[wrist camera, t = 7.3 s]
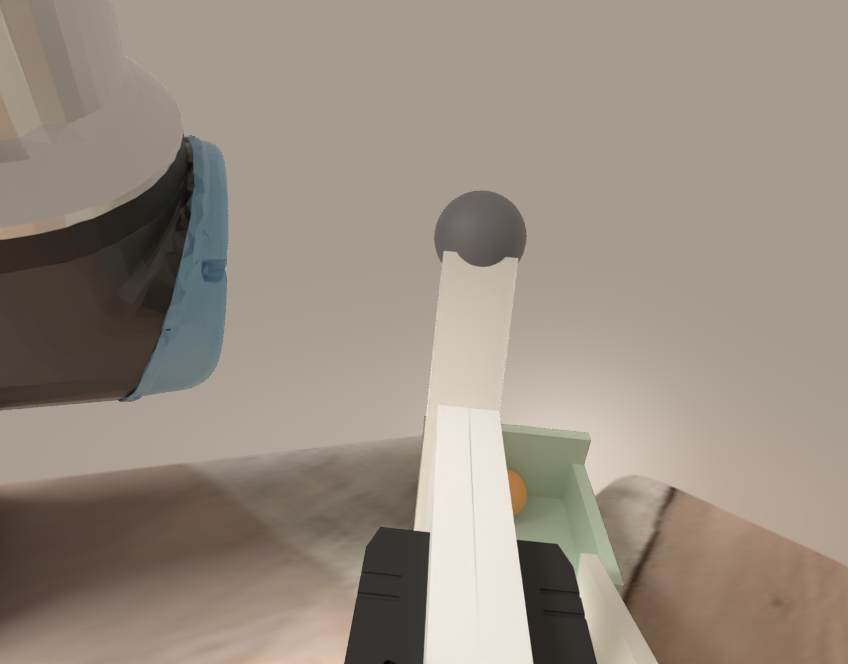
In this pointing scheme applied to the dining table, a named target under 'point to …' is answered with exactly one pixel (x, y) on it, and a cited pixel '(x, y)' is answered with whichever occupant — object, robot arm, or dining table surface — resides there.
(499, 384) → the seesaw
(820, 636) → the dining table surface
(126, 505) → the dining table surface
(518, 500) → the ball
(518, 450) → the tray
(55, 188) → the robot arm
